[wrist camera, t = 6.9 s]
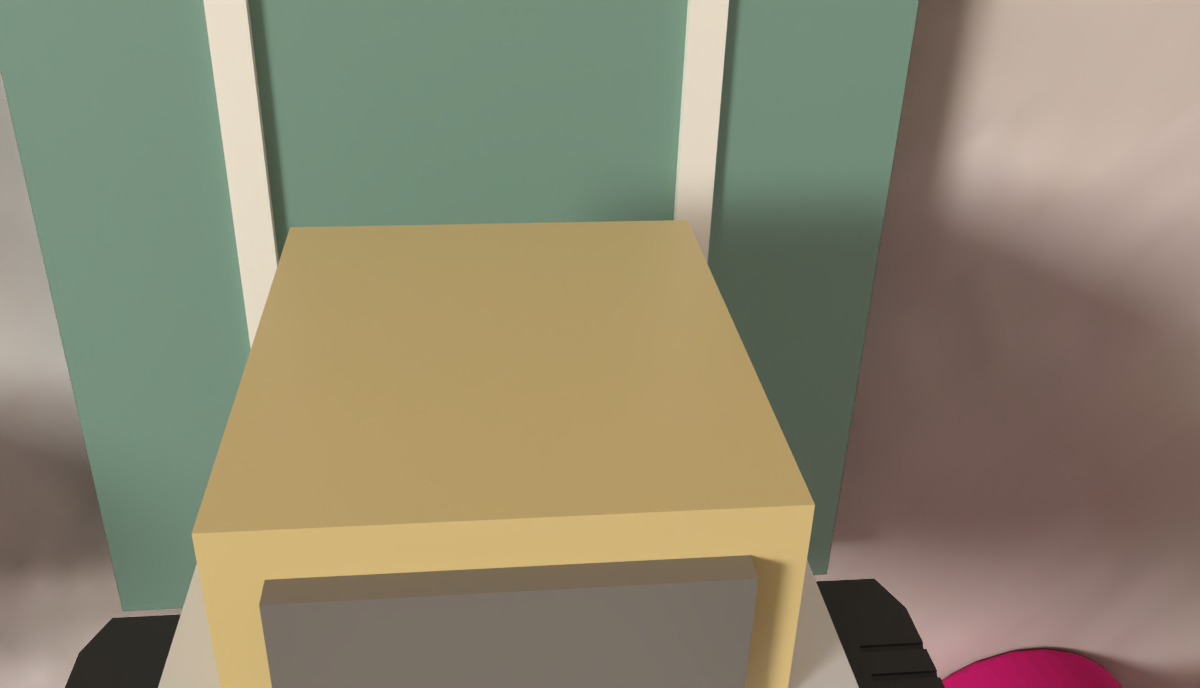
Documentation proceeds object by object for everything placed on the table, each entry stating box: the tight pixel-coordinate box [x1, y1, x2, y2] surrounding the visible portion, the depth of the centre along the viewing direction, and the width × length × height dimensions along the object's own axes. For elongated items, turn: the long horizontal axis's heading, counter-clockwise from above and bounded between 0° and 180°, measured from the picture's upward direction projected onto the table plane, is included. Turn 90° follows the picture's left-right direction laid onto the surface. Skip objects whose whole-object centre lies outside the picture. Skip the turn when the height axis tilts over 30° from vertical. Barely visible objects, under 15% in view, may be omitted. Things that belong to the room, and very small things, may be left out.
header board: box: [0, 0, 919, 611], centre depth 15 cm, size 22×14×8 cm, turn 178°
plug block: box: [191, 220, 815, 688], centre depth 13 cm, size 7×5×6 cm
